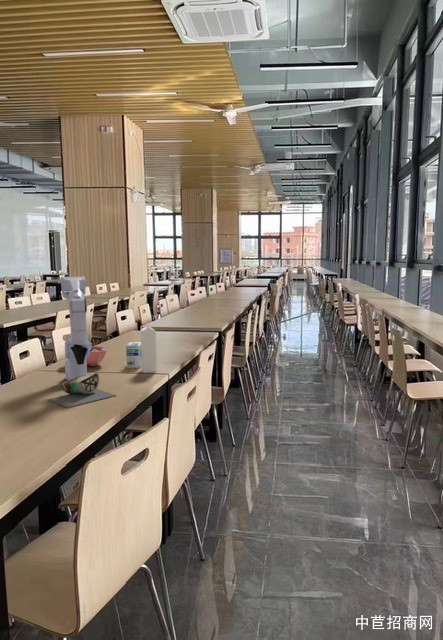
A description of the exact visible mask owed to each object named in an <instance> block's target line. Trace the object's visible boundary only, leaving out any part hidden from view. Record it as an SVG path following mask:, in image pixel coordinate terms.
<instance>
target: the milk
mask: <svg viewBox="0 0 443 640" xmlns="http://www.w3.org/2000/svg"><path fill="white" fill-rule="evenodd" d="M156 332H157V331H156V329H154V328H152V327H151V326H150V323H149V322H146V326H144V327H143V328H141V329H140V342H141V359H142V366H141V371H142V372H143V374H144V373H146V374H147V373H157V372H158V371H157V340H156V339H157V337H156V336H157V335H156Z"/></svg>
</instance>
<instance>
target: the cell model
mask: <svg viewBox="0 0 443 640" xmlns="http://www.w3.org/2000/svg"><path fill="white" fill-rule="evenodd" d="M89 349H90V356H89V357H87V359H86V361H87V367H94V366H97V365H99V364H100V363H102V362H103V361H104V359H105V356H106V354H107V350H108V349H106V348H105V347H104V346H98V345H92V348H89Z"/></svg>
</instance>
